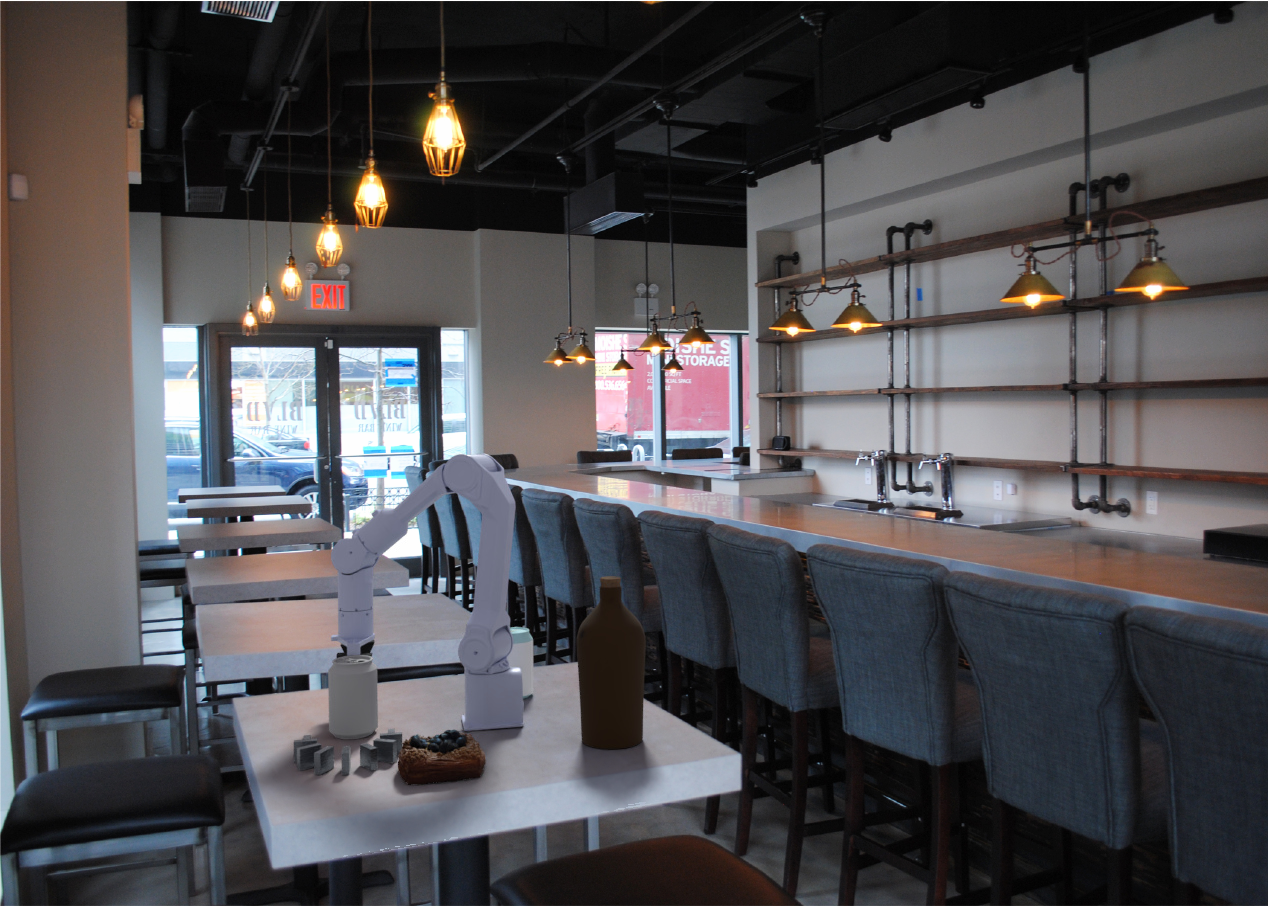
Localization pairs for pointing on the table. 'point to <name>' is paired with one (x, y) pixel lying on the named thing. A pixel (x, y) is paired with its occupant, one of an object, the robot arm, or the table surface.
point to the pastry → (440, 758)
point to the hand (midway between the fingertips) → (356, 689)
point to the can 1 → (353, 697)
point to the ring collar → (346, 753)
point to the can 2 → (523, 657)
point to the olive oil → (611, 672)
